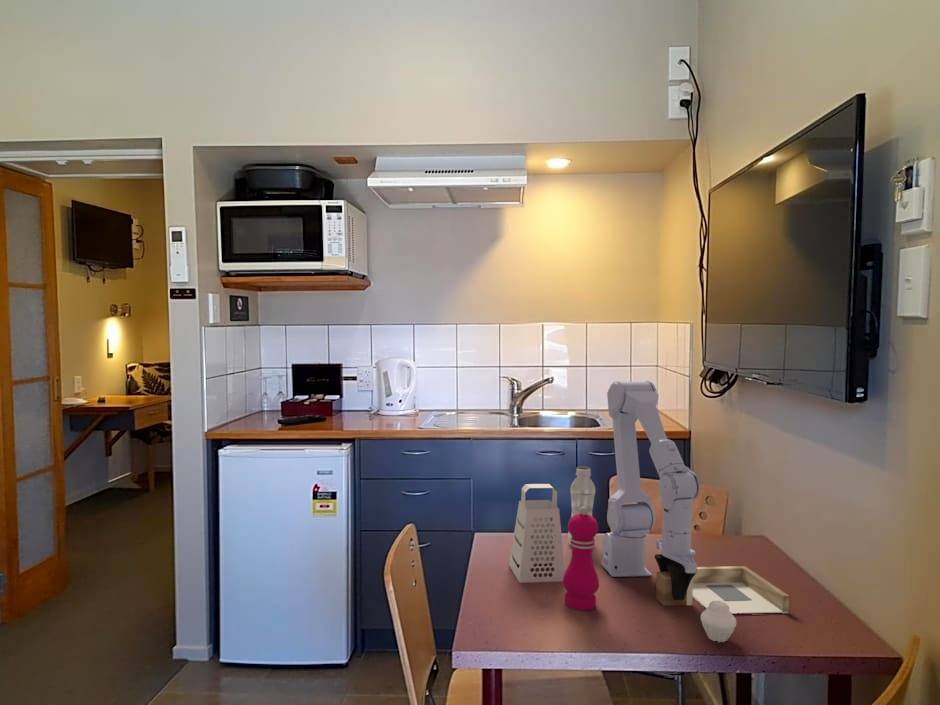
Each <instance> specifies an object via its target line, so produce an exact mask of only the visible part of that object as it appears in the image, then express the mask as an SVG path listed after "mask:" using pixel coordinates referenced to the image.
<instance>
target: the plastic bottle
mask: <svg viewBox="0 0 940 705" xmlns="http://www.w3.org/2000/svg"><path fill="white" fill-rule="evenodd" d="M591 472H592V471H591V468H590V467H588V466H577V467H576V470H575V478H574V480H573V481H572V483H571V485H570V488H569V489H570V490H569V492H570V501H571V516H570V518H571V517H572V516H574V515H576V514H580V513H579V509H580V508H581V507H586V508H587V509H588V513H587V514H588V515H591V516H592V517H593V509H594V501H595V495H596V486H595V483H594V482H593V481H592V479H591V475H592V473H591ZM567 534H568V535H567V536H568V541H569V542H570V541H571V540H570V537H571V536H572V535H571V534H570V533H569V531H568V533H567Z"/></svg>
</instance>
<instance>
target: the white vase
mask: <svg viewBox="0 0 940 705" xmlns="http://www.w3.org/2000/svg"><path fill="white" fill-rule="evenodd" d="M700 621H701V625H702V627H703V629H704V631H705V634H706V635H707V638H708V639H710V640H711V641H713V642H715V641H718V642H717V643H720V642H721V641H722V642H723V643H726V642H727V641H728V640H729V639H730V637H731V635H732V634H733V633H734V632H735V628H736V627H737V622H738V621H737V619H736V617H735V615H732V614H731V612H730V611H729V606H728V605H727V604H726V603H724V602H722V601H712V602H711V603H709V607H708V608H707V609H704V610H703V611H702V613H701V614H700ZM725 641H726V642H725ZM722 642H721V643H722Z"/></svg>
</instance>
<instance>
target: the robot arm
mask: <svg viewBox="0 0 940 705" xmlns="http://www.w3.org/2000/svg"><path fill="white" fill-rule="evenodd" d="M606 396H607V407H608V410H607V411H608V416H609V417H610V418H612V419H611V420H612V429H613V431H612V432H613V443H614V453H615V464H616V465H615V468H616V477H617V480H616V481H617V491H616V492H615V493H614V494H613V495H611V496H610V497H609V498H608V500H607V502H608V503H607V504H608V506H607V513H606V521H607V522H606V523H607V525H608V527H609V528H610V530H611V531H612V532H606V533H604V535H603V538H602V554H601V555H602V556H601V558H602V559H601V563H600V565H601V566H602V567H603V568H604V570H606V572H608V575H610V576H611V577H613V578H614V577H616V578H617V577H618V578H619V577H620V578H621V577H651V576H653V574H652V573H651V572H650V571H649V570H648V569H647V568H646V554H647V535H650V531H651V530H653V528H654V527H655V525H656V524H655V523H656V513H655V510H654V507H653V504H652V498H651V497H650V496H649V495H648V494H646V493H645V492H644V491H643V490H642V485H641V474H640V462H639V453H638V450H639V449H638V441H637V430H636V429H637V428H636V423H637V421H639V423H640V425H641V426H642V428H643V431H644V432H645V435H646V436H647V438H648V441H650V442H649V443H651V444H650V447H649V449H648V453H649V455H650V458H651V460H652V463H653V465H654V467H655V470H656V472H657V474H658V478H659V480H658V482H657V489H658V493H659V496H660V505H661V507H662V521H661V522H662V524H661V526H662V527H661V529H662V530H661V538H660V539H656V547H655V548H656V549H657V550H659V554H658V553H657V554H654V559H655V561H656V563H657V566H658V569H659V572H669V573H670V577H671V582H672V594H673V599H674V600H684V599H685V596H686V592H687V589H688V586H689V584H690V582H691V580H692V578H693V577H694V575H695V574H696V573H697V567H698V563H697V562H696V561H695V560H694V557H693V556H696V551H695V550H694V549H692V548H691V545H692V544H691V542H692V541H691V540H692V521H693V500H695V499H696V498H697V497H698V496H699V493H700V489H701V488H700V482H699V478H698V475H697V474H696V473H695V472H694V471H693V470H691V469H690V467H688V466H686V465H685V463H684V460H683V458H682V455H681V453H680V451H679V448H678V447H677V445H676V442H674V441H673V439H672V440H671V439H669V438H668V437H667V434H666V432H665V429H664V426H663V423H662V420H661V416H660V414H659V413H660V412H659V411H658V407H657V406H658V401H659V394H658V392H657V388H656V385H655V384H654V383H653V382H652V381H650V380H646V381H619V380H615V381H613V382H612V383H611V384H610V386H609V388H608V390H607V392H606ZM627 503H629V504H627Z"/></svg>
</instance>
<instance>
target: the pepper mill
mask: <svg viewBox="0 0 940 705" xmlns="http://www.w3.org/2000/svg"><path fill="white" fill-rule="evenodd" d="M579 513H580V514H576V515H574V516H572V517H571V516H570V518H569V520H568V523H567V530H568V532H569V533H570V534H571V535H572V536H571V537H570V540H571V541H569V545H570V546H571V557H570V562H569V564H568V565H567V567H566V569H565V574H564V577H563V581H562V584H563V588H564V589H565V591H566V592H565V593H564V604H565V605H566V606H567V607H568V608H570V609H573V610H577V611H590V610H593V609H595V608H596V605H597V603H596V602H597V597H596V593H597V591H598V590H599V588H600V582H599V581H600V580H599V576H598V572H597V570H596V568H595V565H594V561H593V548H595V546H596V544H595V542H596V539H595V537H596V536H597V534H598V532H599V524H598V522H597V519H596V518H595V517H594V516H593V515H592V516H591V515H588V514H587V513H588V509H587V508H586V507H581V508H580V509H579Z"/></svg>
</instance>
